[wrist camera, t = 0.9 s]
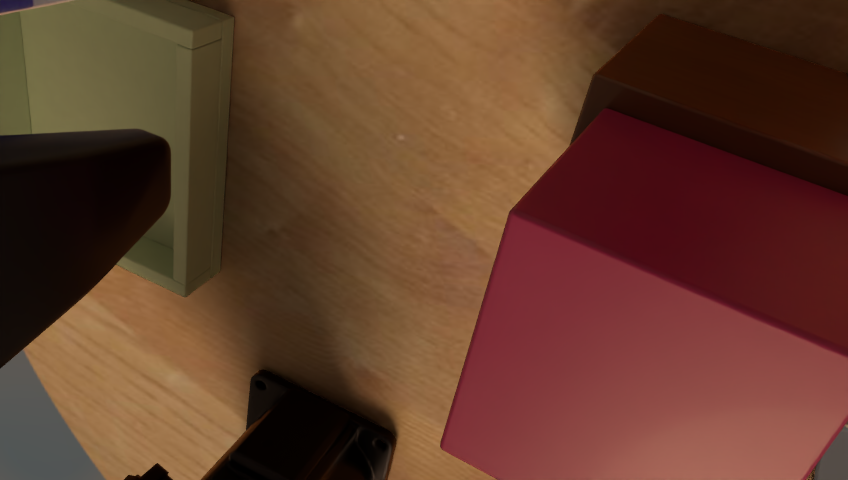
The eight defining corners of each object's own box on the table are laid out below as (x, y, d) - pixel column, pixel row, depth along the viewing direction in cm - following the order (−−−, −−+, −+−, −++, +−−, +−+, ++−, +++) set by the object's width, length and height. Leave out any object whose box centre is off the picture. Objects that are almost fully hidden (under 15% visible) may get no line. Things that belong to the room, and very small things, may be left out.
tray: (220, 271, 30) (185, 298, 28) (39, 188, 32) (-3, 208, 30) (235, 16, 24) (192, 30, 23) (15, -63, 27) (-39, -55, 25)
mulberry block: (755, 409, 16) (720, 602, 12) (533, 307, 17) (436, 449, 13) (880, 206, 13) (888, 368, 9) (604, 104, 14) (508, 208, 11)
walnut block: (793, 298, 21) (773, 438, 16) (585, 212, 22) (512, 316, 18) (913, 94, 17) (933, 193, 13) (659, 12, 19) (592, 72, 14)
